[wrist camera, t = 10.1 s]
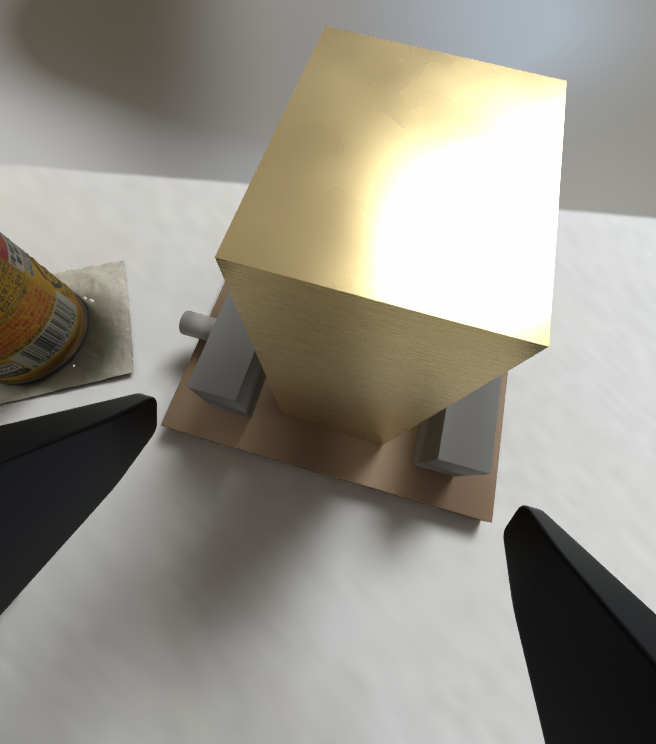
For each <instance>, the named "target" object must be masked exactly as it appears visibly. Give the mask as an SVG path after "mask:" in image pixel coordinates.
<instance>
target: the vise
mask: <svg viewBox="0 0 656 744" xmlns="http://www.w3.org/2000/svg"><path fill="white" fill-rule="evenodd" d="M179 329H180V332H181V333H182V334H184V335H187V336H191V337H195V338H198V339H199V341H198V344H197V346H196V348H195V350H194V353H193V355H192V357H191V359H190V361H189V364H188V366H187V368H186V370H185V373H184V375H183V377H182V379H181V382H180V384H179V386H178V388H177V390H176V393H175V395H174V397H173V399H172V402H171V404H170V406H169V408H168V410H167V413H166V415H165V417H164V419H163V422H162V424H161V425H162V426H164V427H167V428H169V429H172V430H176V431H179V432H183V433H186V434H189V435H193V436H196V437H200V438H203V439H206V440H210V441H213V442H217V443H220V444H223V445H227V446H230V447H234V448H237V449H240V450H244V451H247V452H250V453H254V454H257V455H261V456H264V457H267V458H271V459H274V460H278V461H281V462H284V463H288V464H291V465H295V466H298V467H301V468H305V469H308V470H312V471H315V472H318V473H322V474H325V475H329V476H332V477H335V478H339V479H342V480H346V481H349V482H352V483H356V484H359V485H363V486H366V487H369V488H373V489H376V490H380V491H383V492H386V493H390V494H393V495H397V496H400V497H403V498H407V499H410V500H414V501H417V502H420V503H424V504H427V505H431V506H434V507H437V508H441V509H444V510H448V511H451V512H454V513H458V514H461V515H465V516H468V517H471V518H475V519H478V520H482V521H487V522H492V516H493V507H494V498H495V488H496V479H497V469H498V460H499V450H500V441H501V431H502V422H503V413H504V403H505V394H506V384H507V375H508V371H507V372H505V373H503V374H502V375H500V376H498V377H497V378H495V379H493V380H492V381H490V382H488V383H487V384H485V385H483V386H482V387H480V388H478V389H477V390H475V391H473V392H471V393H470V394H468V395H466V396H465V397H463V398H461V399H460V400H458V401H456V402H455V403H453V404H451V405H450V406H448V407H446V408H445V409H443V410H441V411H439V412H438V413H436V414H434V415H433V416H431V417H429V418H428V419H426V420H424V421H423V422H421V423H419V424H418V425H416V426H414V427H413V428H411V429H409V430H407V431H406V432H404V433H402V434H401V435H399V436H397V437H396V438H394V439H392V440H391V441H389V442H387V443H386V444H384V445H380V444H377V443H373V442H370V441H366V440H363V439H359V438H356V437H352V436H349V435H346V434H342V433H339V432H335V431H332V430H328V429H325V428H321V427H318V426H315V425H311V424H308V423H304V422H301V421H297V420H294V419H291V418H287V417H284V416H283V415H282V412H281V410H280V408H279V405H278V403H277V401H276V398H275V396H274V394H273V391H272V389H271V387H270V384H269V382H268V380H267V377H266V375H265V373H264V370H263V368H262V366H261V363H260V361H259V359H258V356H257V354H256V352H255V349H254V347H253V345H252V342H251V340H250V338H249V335H248V333H247V331H246V328H245V326H244V324H243V321H242V319H241V317H240V314H239V312H238V310H237V307H236V305H235V303H234V300H233V298H232V296H231V293H230V291H229V289H228V286H227V284H226V282H225V283H224V286H223V288H222V290H221V292H220V295H219V297H218V299H217V301H216V304H215V306H214V308H213V310H212V312H211V315H210V317H209V316H206V315H202V314H199V313H195V312H191V311H186V312H185V313H184V314H183V315H182V317H181V319H180V324H179Z"/></svg>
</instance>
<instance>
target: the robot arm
mask: <svg viewBox="0 0 656 744" xmlns="http://www.w3.org/2000/svg"><path fill="white" fill-rule="evenodd" d="M156 427H157V402H156V399H155V398H154V397H151V396H147V395H144V394H140V393H137V394H133V395H128V396H124V397H120V398H116V399H112V400H107V401H103V402H99V403H95V404H90V405H86V406H82V407H78V408H74V409H69V410H65V411H61V412H57V413H52V414H48V415H44V416H40V417H36V418H31V419H27V420H23V421H19V422H14V423H10V424H6V425H2V426H0V615H1V614H2V613H3V612H4V610H5V609H6V608H7V607H8V606H9V605H10V604H11V603H12V602H13V600H14V599H15V598H16V597H17V596H18V595H19V594H20V593H21V591H22V590H23V589H24V588H25V587H26V586H27V585H28V584H29V582H30V581H31V580H32V579H33V578H34V577H35V576H36V575H37V574H38V572H39V571H40V570H41V569H42V568H43V567H44V566H45V565H46V563H47V562H48V561H49V560H50V559H51V558H52V557H53V556H54V555H55V553H56V552H57V551H58V550H59V549H60V548H61V547H62V546H63V544H64V543H65V542H66V541H67V540H68V539H69V538H70V537H71V536H72V534H73V533H74V532H75V531H76V530H77V529H78V528H79V527H80V525H81V524H82V523H83V522H84V521H85V520H86V519H87V518H88V517H89V515H90V514H91V513H92V512H93V511H94V510H95V509H96V508H97V506H98V505H99V504H100V503H101V502H102V501H103V500H104V499H105V498H106V496H107V495H108V494H109V493H110V492H111V491H112V490H113V488H114V487H115V486H116V485H117V483H118V482H119V481H120V480H121V478H122V477H123V476H124V474H125V473H126V472H127V470H128V469H129V467H130V466H131V465H132V463H133V462H134V461H135V459H136V458H137V456H138V455H139V454H140V452H141V451H142V450H143V448H144V447H145V445H146V444H147V443H148V441H149V440H150V439H151V437H152V436H153V434H154V432H155V430H156ZM503 538H504V546H505V554H506V561H507V568H508V575H509V583H510V590H511V597H512V603H513V608H514V613H515V618H516V622H517V627H518V631H519V635H520V639H521V643H522V648H523V652H524V656H525V660H526V664H527V669H528V673H529V677H530V681H531V685H532V690H533V694H534V698H535V702H536V706H537V711H538V715H539V719H540V723H541V728H542V732H543V736H544V740H545V744H656V614H655V613H654V612H653V611H652V610H651V609H649V608H648V607H647V606H646V605H645V604H644V603H643V602H642V601H641V600H640V599H639V598H637V597H636V596H635V595H634V594H633V593H632V592H631V591H630V590H629V589H628V588H626V587H625V586H624V585H623V584H622V583H621V582H620V581H619V580H618V579H617V578H616V577H614V576H613V575H612V574H611V573H610V572H609V571H608V570H607V569H606V568H605V567H604V566H602V565H601V564H600V563H599V562H598V561H597V560H596V559H595V558H594V557H593V556H592V555H590V554H589V553H588V552H587V551H586V550H585V549H584V548H583V547H582V546H581V545H579V544H578V543H577V542H576V541H575V540H574V539H573V538H572V537H571V536H570V535H569V534H567V533H566V532H565V531H564V530H563V529H562V528H561V527H560V526H559V525H558V524H557V523H555V522H554V521H553V520H552V519H551V518H550V517H549V516H548V515H547V514H546V513H545V512H543V511H542V510H540V509H536V508H533V507H529V506H526V505H524V506H521V507H519V508H518V510H517V511H516V513H515V514H514V516H513V517H512V519H511V520H510V522H509V523H508V525H507V526H506V528H505V530H504V537H503Z"/></svg>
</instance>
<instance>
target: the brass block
mask: <svg viewBox="0 0 656 744" xmlns="http://www.w3.org/2000/svg"><path fill="white" fill-rule="evenodd" d="M566 83H567V82H566V81H564V80H560V79H556V78H552V77H547V76H543V75H538V74H534V73H530V72H525V71H521V70H516V69H512V68H508V67H503V66H499V65H494V64H490V63H486V62H481V61H476V60H472V59H468V58H464V57H459V56H454V55H450V54H446V53H441V52H437V51H433V50H428V49H424V48H420V47H415V46H411V45H406V44H402V43H397V42H393V41H389V40H384V39H380V38H375V37H371V36H367V35H362V34H358V33H354V32H349V31H345V30H340V29H336V28H331V27H327V26H326V27H325V28H324V30H323V32H322V34H321V37H320V39H319V41H318V43H317V45H316V47H315V49H314V51H313V53H312V55H311V58H310V59H309V62H308V64H307V66H306V68H305V70H304V72H303V74H302V76H301V78H300V80H299V82H298V85H297V87H296V89H295V91H294V93H293V95H292V97H291V99H290V101H289V103H288V106H287V108H286V110H285V112H284V114H283V116H282V118H281V120H280V122H279V125H278V126H277V128H276V131H275V133H274V135H273V137H272V139H271V141H270V144H269V145H268V147H267V149H266V151H265V153H264V156H263V158H262V160H261V162H260V164H259V166H258V168H257V170H256V172H255V175H254V177H253V179H252V181H251V183H250V185H249V187H248V189H247V191H246V193H245V195H244V197H243V199H242V202H241V204H240V206H239V208H238V210H237V212H236V214H235V216H234V218H233V220H232V222H231V225H230V227H229V229H228V231H227V233H226V235H225V237H224V239H223V241H222V243H221V245H220V248H219V250H218V252H217V254H216V256H215V259H216V261H217V263H218V265H219V268H220V270H221V272H222V275H223V277H224V279H225V282H226V284H227V286H228V289H229V291H230V293H231V296H232V298H233V300H234V303H235V305H236V307H237V310H238V312H239V314H240V317H241V319H242V321H243V324H244V326H245V328H246V331H247V333H248V335H249V338H250V340H251V342H252V345H253V347H254V349H255V352H256V354H257V356H258V359H259V361H260V363H261V366H262V368H263V370H264V373H265V375H266V377H267V380H268V382H269V384H270V387H271V389H272V391H273V394H274V396H275V398H276V401H277V403H278V405H279V408H280V410H281V412H282V415H283V416H284V417H287V418H291V419H294V420H297V421H301V422H304V423H308V424H311V425H315V426H318V427H321V428H325V429H328V430H332V431H335V432H339V433H342V434H346V435H349V436H352V437H356V438H359V439H363V440H366V441H370V442H373V443H377V444H380V445H384V444H386V443H387V442H389V441H391V440H392V439H394V438H396V437H397V436H399V435H401V434H402V433H404V432H406V431H407V430H409V429H411V428H413V427H414V426H416V425H418V424H419V423H421V422H423V421H424V420H426V419H428V418H429V417H431V416H433V415H434V414H436V413H438V412H439V411H441V410H443V409H445V408H446V407H448V406H450V405H451V404H453V403H455V402H456V401H458V400H460V399H461V398H463V397H465V396H466V395H468V394H470V393H471V392H473V391H475V390H477V389H478V388H480V387H482V386H483V385H485V384H487V383H488V382H490V381H492V380H493V379H495V378H497V377H498V376H500V375H502V374H503V373H505V372H507V371H509V370H510V369H512V368H514V367H515V366H517V365H519V364H520V363H522V362H524V361H525V360H527V359H529V358H530V357H532V356H534V355H535V354H537V353H539V352H540V351H542V350H544V349H546V348H547V347H549V335H550V320H551V305H552V290H553V275H554V261H555V246H556V231H557V216H558V201H559V185H560V172H561V171H560V170H561V156H562V142H563V126H564V113H565V112H564V111H565V98H566Z"/></svg>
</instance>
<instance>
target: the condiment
mask: <svg viewBox="0 0 656 744" xmlns="http://www.w3.org/2000/svg"><path fill="white" fill-rule="evenodd" d="M84 296H86V297H87V299H86V300H85V299H84V298H83V297H84ZM89 299H94V301H95V302H91V301H90V300H89ZM132 358H133V352H132V339H131V324H130V314H129V301H128V295H127V281H126V275H125V265H124V261H120V262H115V263H107V264H103V265H100V266H90V267H86V268H83V269H78V270H70V271H66V272H62V273H57V274H51V273H50V272H49V271H48V270H47V269H46V268H45V267H43V266H41V265H40V264H39V263H37V261H36V260H35V259H34V258H32V257H30V256H29V255H28V254H27V253H25V252H24V251H23V250H22V249H21V248H19V247H18V246H16V245H15V244H14V243H13V242H11V241H10V240H9V239H8V238H7V237H5V236H4V235H3V234H2V233H1V232H0V404H2V403H5V402H10V401H16V400H20V399H25V398H29V397H31V396H38V395H41V394H45V393H48V392H54V391H56V390H59V389H63V388H67V387H74V386H78V385H82V384H87V383H92V382H96V381H100V380H104V379H107V378H110V377H114V376H119V375H124V374H128V373H132V372H133V360H132ZM74 364H75V365H76V366H75V367H73V365H74Z"/></svg>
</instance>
